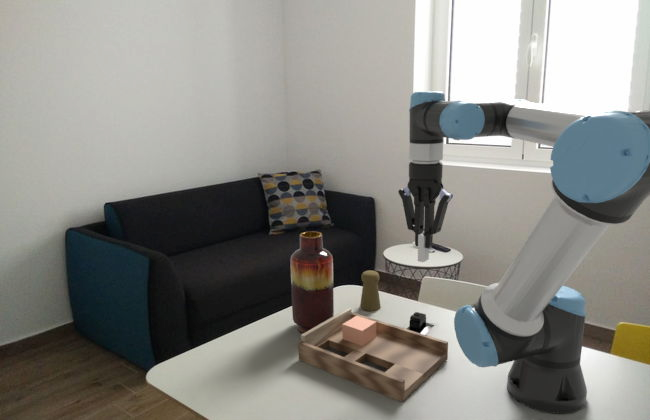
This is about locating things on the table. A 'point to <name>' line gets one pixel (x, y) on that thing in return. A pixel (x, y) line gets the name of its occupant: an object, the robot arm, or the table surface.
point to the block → (359, 330)
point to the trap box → (374, 355)
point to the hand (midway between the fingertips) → (423, 260)
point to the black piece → (419, 323)
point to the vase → (311, 282)
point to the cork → (370, 291)
